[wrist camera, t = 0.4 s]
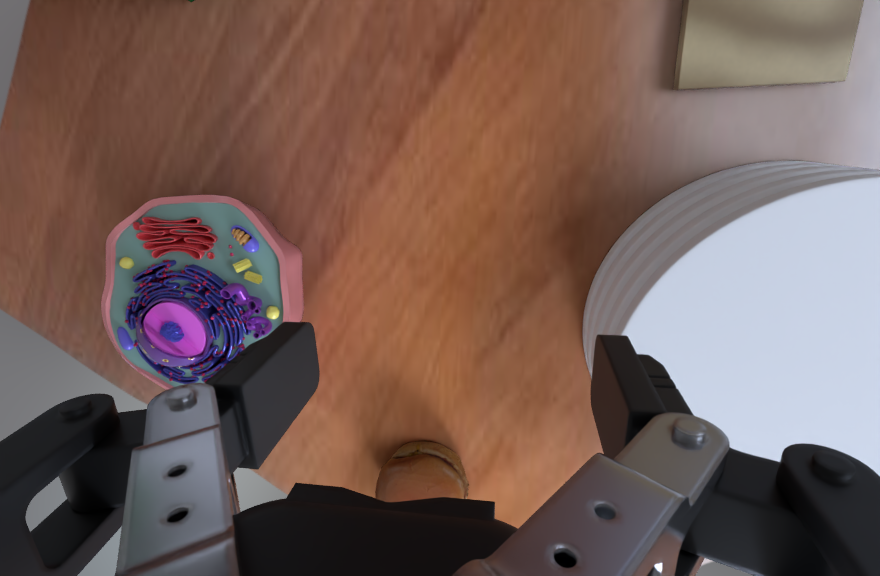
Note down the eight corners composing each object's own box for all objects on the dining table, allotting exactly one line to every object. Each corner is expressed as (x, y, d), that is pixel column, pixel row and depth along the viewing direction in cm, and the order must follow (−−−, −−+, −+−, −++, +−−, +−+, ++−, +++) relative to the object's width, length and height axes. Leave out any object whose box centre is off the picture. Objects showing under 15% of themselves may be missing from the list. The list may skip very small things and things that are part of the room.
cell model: (371, 261, 43) (325, 305, 33) (261, 388, 50) (193, 458, 40) (229, 135, 41) (131, 139, 31) (134, 285, 48) (28, 330, 38)
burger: (444, 427, 48) (437, 457, 44) (483, 494, 50) (480, 529, 46) (366, 454, 51) (352, 485, 47) (405, 516, 53) (396, 551, 49)
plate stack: (933, 104, 33) (1135, 94, 22) (950, 428, 40) (1107, 537, 30) (546, 225, 40) (557, 261, 29) (621, 482, 47) (652, 586, 36)
